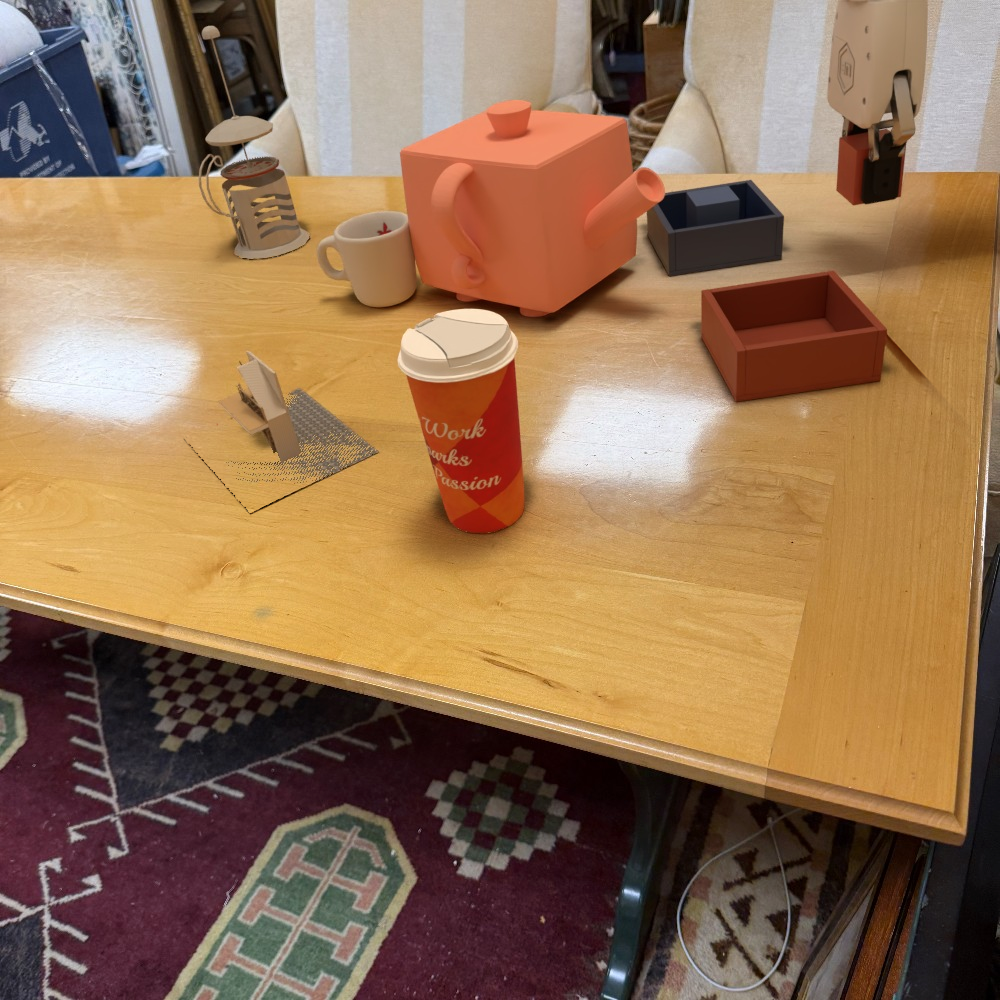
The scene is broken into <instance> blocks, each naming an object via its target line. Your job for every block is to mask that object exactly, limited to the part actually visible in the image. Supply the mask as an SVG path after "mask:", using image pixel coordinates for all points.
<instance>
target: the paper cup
mask: <svg viewBox="0 0 1000 1000" xmlns="http://www.w3.org/2000/svg"><path fill="white" fill-rule="evenodd" d="M518 349H519V340H518V337H517V336H516V334H515V333H514V332H513V331H512V330H511V328H510V326H509V323H508V321H507V320H506V319H505V318H504V317H503V316H502V315H500V314H499V313H497V312H494V311H491V310H488V309H481V308H459V309H452V310H447V311H442V312H441V311H440V312H438V313H434V315H433V318H431V317H428V318H426V319H423V320H422V321H421V322H418V323H416V324H415V325H414V328H411V327H409V328H407V329H406V330H405V331H404V333H403V335H402V337H401V340H400V350H399V352H398V356H397V365H398V368H399V369H400V371H401V372H402V373H403V374H404V375H406V380H407V383H408V387H409V390H410V393H411V397H412V401H413V403H414V407H415V411H416V414H417V418H418V421H419V425H420V429H421V432H422V436H423V439H424V442H425V446H426V449H427V453H428V456H429V459H430V464H431V467H432V470H433V474H434V477H435V480H436V484H437V488H438V491H439V494H440V498H441V501H442V503H443V507H444V510H445V513H446V516H447V518H448V521H449V522H450V524H451V523H452V524H453V525H454V526H455V527H454V526H453V525H452V524H451V525H452V526H453V527H454V528H456V527H457V528H459V529H461V530H463V531H462V532H464V531H467V532H471V533H470V534H472V533H486V534H489V533H488V532H493V533H495V532H494V531H496V532H498V531H497V530H499V529H502V530H504V529H503V528H505V529H506V527H507V526H509V527H510V526H512V525H514V524H515V523H516V522H517V521H518V520H519V519H520V518H521V517H522V515H523V513H524V511H525V510H524V509H525V484H524V483H525V481H524V468H523V454H522V453H523V452H522V441H521V428H520V427H521V426H520V425H521V424H520V413H519V400H518V386H517V374H516V373H517V371H516V359H515V358H516V357H515V356H516V354H517V352H518ZM457 528H456V529H457ZM507 528H508V527H507ZM459 529H458V530H459ZM461 530H460V531H461ZM467 532H466V533H467Z"/></svg>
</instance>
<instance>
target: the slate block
mask: <svg viewBox="0 0 1000 1000" xmlns="http://www.w3.org/2000/svg"><path fill="white" fill-rule="evenodd" d="M739 202H740V200H739V198H738V197H737V196H736V195H735V194H734V192H733V191H732V190H731V189H730V187H729V186H723V187H717V188H710V189H704V190H697V191H691V192H687V193H686V209H687V228H690V227H696V226H703V225H710V224H716V223H723V222H729V221H736V220H739Z"/></svg>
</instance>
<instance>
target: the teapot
mask: <svg viewBox="0 0 1000 1000" xmlns="http://www.w3.org/2000/svg"><path fill="white" fill-rule="evenodd" d="M628 128H629V127H628V121H627V120H626V118H625V117H619V116H611V115H600V114H592V113H591V114H590V113H589V114H588V113H580V112H579V113H578V112H568V111H553V110H537V109H536V110H535V109H532V103H531V102H530V101H527V100H522V99H511V100H504V101H500V102H497V103H494V104H492V105H490V106H489V107H487V108H486V109H485V111H482V112H480V113H478V114H475V115H474V116H471V117H468V118H466V119H464V120H461V121H460V122H457V123H456V124H455V123H454V124H453V125H450V126H448V127H446V128H444V129H442V130H439V131H437V132H435V133H433V134H431V135H429V136H427V137H424V138H422V139H420V140H418V141H416V142H414V143H412V144H410V145H407V146H405V147H403V148H401V150H400V152H399V158H400V167H401V175H402V176H401V177H402V183H403V192H404V200H405V208H406V214H407V215H408V222H409V228H410V234H411V240H412V246H413V251H414V257H415V264H416V269H417V270H418V274H419V277H420V280H421V283H422V284H424V285H427V286H430V287H434V288H437V289H441V290H444V291H447V292H452V293H456V295H455V296H456V299H457V300H459V301H461V302H476V301H479V300H485V301H489V302H494V303H499V304H503V305H509V306H513V307H517V308H519V313H520V315H522V316H525V317H529V318H538V317H543V316H547V315H549V314H552V313H555V312H557V311H559V310H560V309H561V308H563V307H565V306H566V305H567V304H570V303H571V302H572V301H574V300H575V299H576V298H578V297H580V296H581V295H582V294H584V293H585V292H587V291H588V290H589V289H591V288H592V287H594V286H595V285H597V284H599V282H601V281H603V280H604V279H605V278H607V277H608V276H609V275H611V274H613V273H614V272H615V271H616V270H618V269H619V268H620V267H622V266H624V265H626V263H628V262H629V261H630V260H632V259H634V257H636V255H637V244H638V243H637V242H638V219H639V218H640V217H642V216H643V215H644V214H646V213H647V211H648V210H649V209H651V208H652V207H653V206H655V205H656V204H658V203H659V202H660V201H661V200H663V198H664V196H665V193H666V189H665V184H664V182H663V180H662V179H661V177H660V176H659V175H658V174H657V172H655V171H654V170H653V169H651V168H649V167H646V166H642V167H639V168H638V169H636V170H635V171H634V169H633V160H632V151H631V142H630V135H629V129H628Z"/></svg>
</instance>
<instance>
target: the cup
mask: <svg viewBox="0 0 1000 1000" xmlns="http://www.w3.org/2000/svg"><path fill="white" fill-rule="evenodd" d="M316 247H317V248H316V258H317V261H318V264H319V266H320V268H321V270H322V272H323V273H324V274H325V276H326V277H327V278H330V279H331V280H333V281H341V282H342V281H344V282H349V283H350V285H351V288H352V290H353V293H354V295H355V297H356V298H357V300H358V301H359V302H360V303H361V304H363V305H365V306H367V307H371V308H386V307H391V306H395V305H398V304H402V303H403V302H405V301H407V300H409V299H410V298H411V297H412V296H413V295H414V294H415V292H416V289H417V284H418V278H417V264H416V261H415V257H414V251H413V246H412V240H411V234H410V228H409V222H408V215H407V213H405V212H402V211H397V210H379V211H373V212H367V213H363V214H359V215H356V216H353V217H351V218H348V219H347V220H344V221H342V222H341V223H339V225H337V226H336V228H334V231H333V234H332V235H329V236H326V237H324V238H323V239H322V240H321V241H320V242H319V243H318V245H317V246H316ZM328 248H332V249H334V250H335V251H336V252H337V253H338V255H339V256H340V258H341V262H342V267H343V269H342V270H338V269H336V268H334V267H333V265H332V264H331V262H330V261H329V258H328V254H327V249H328Z"/></svg>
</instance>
